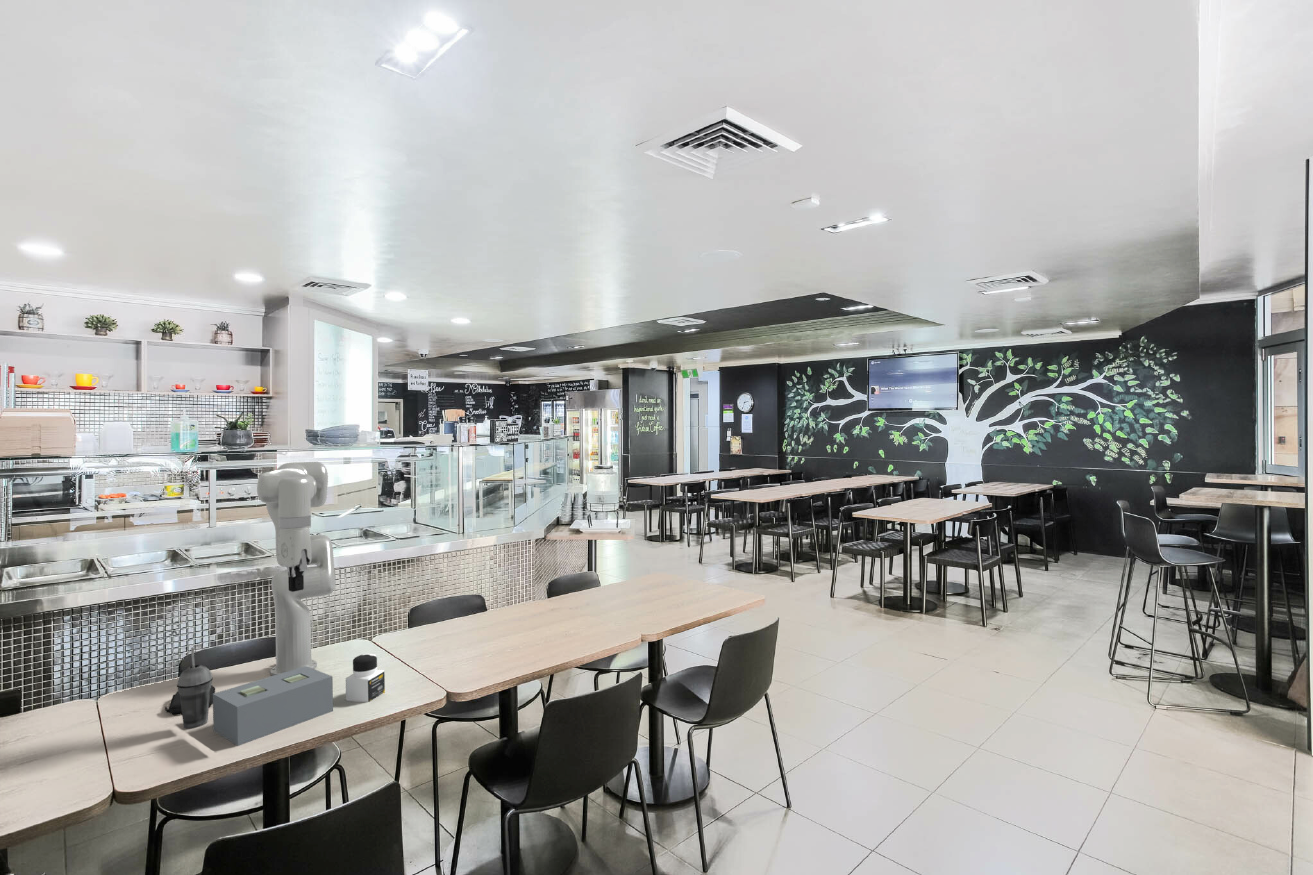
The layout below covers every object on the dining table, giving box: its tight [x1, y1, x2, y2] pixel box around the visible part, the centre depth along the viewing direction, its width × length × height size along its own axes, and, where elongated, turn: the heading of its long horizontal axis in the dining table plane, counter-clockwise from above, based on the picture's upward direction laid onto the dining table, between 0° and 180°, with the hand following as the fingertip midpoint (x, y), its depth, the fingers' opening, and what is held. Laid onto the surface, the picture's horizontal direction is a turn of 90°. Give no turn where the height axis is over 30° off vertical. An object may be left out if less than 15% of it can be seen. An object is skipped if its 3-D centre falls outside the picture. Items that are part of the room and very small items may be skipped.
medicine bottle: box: [345, 653, 386, 703], centre depth 171 cm, size 7×7×12 cm
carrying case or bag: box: [164, 684, 216, 716], centre depth 171 cm, size 11×3×15 cm
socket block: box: [212, 666, 334, 747], centre depth 157 cm, size 14×22×10 cm, turn 145°
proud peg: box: [240, 686, 265, 697], centre depth 153 cm, size 4×4×9 cm
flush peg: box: [283, 674, 307, 683], centre depth 161 cm, size 4×4×9 cm
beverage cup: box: [176, 646, 214, 730], centre depth 156 cm, size 7×7×20 cm
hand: (296, 590), depth 169 cm, fingers closed
